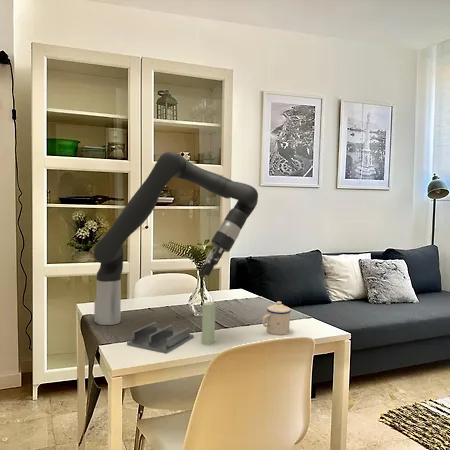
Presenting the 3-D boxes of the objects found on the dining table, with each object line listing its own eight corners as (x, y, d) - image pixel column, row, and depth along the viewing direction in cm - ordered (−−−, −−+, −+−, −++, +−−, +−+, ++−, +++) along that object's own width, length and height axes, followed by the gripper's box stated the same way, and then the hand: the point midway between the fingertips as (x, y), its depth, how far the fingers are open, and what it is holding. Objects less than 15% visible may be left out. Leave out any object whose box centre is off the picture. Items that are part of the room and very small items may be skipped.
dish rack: (127, 344, 153) (127, 333, 153) (156, 330, 170) (156, 320, 169) (166, 353, 147) (167, 341, 146) (193, 337, 163) (193, 326, 162)
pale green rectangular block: (201, 343, 157) (202, 304, 156) (206, 340, 161) (207, 301, 159) (209, 344, 156) (210, 305, 154) (214, 341, 159) (215, 302, 158)
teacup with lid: (279, 326, 179) (281, 297, 178) (294, 333, 171) (296, 303, 170) (255, 330, 172) (256, 301, 171) (269, 338, 165) (270, 307, 164)
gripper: (213, 232, 167) (191, 270, 163) (221, 227, 153) (197, 268, 149) (230, 243, 167) (208, 281, 164) (239, 239, 154) (216, 280, 150)
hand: (203, 275), depth 156 cm, fingers open, 8 cm apart
